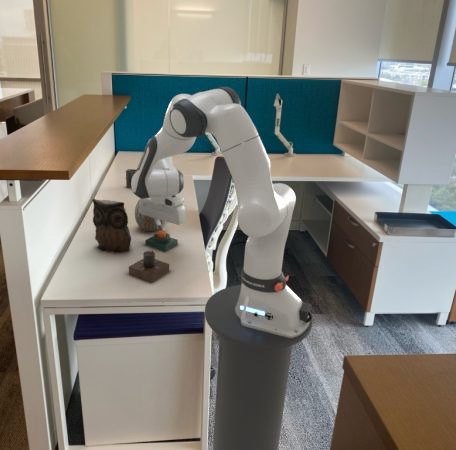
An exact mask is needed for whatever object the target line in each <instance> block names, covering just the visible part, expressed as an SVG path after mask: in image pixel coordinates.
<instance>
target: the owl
mask: <svg viewBox="0 0 456 450" xmlns="http://www.w3.org/2000/svg"><path fill="white" fill-rule="evenodd" d="M92 203H93V209H92V213H93V217H92V223H93V225H94V227H95V235H94V239H95V241H97V243H98V246H97V249H98V250H99V251H101V252H108V253H115V254H116V253H117V254H118V253H120V254H121V253H124V252H130V249H131V248H130V247H131V243H132V236H131V233H130V229H129V226H128V223H129V216H128V213H127V212H126V211H127V210H126V208H125V202H123V201H117V200H110V199H96V198H93V199H92Z"/></svg>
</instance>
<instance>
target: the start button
mask: <svg viewBox="0 0 456 450" xmlns="http://www.w3.org/2000/svg"><path fill="white" fill-rule="evenodd" d="M156 233H157V237H159V238H164V237H166V233H167V232H166V230H164V231H163V230H157V232H156Z"/></svg>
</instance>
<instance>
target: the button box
mask: <svg viewBox="0 0 456 450" xmlns="http://www.w3.org/2000/svg"><path fill="white" fill-rule="evenodd" d="M178 241H179V240H178V239H176V238H173V237H171V235H170V233H168V232H166V237H164V238H159V237H157V232H156V233H154V234H153V235H152V236H151V237H148V238H146V239H145V246H148V247H150V248H154V249H157V250H160V251H162V252H167V251H169V250H170V249H173V248H174V247H176V246H178Z"/></svg>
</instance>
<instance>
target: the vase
mask: <svg viewBox="0 0 456 450" xmlns="http://www.w3.org/2000/svg"><path fill="white" fill-rule="evenodd" d="M139 203H140V198H139V199H138V200H137V202H136V204H135V207H134V219H135V223H136V224H137V226H138V227H139V228H140V229H141V230H143V231H144V232H156V231H159V229H157V224H156V222H155V218H152V217H149V216H146V215H142V214H140V212H139ZM160 222H161V224H163V223H162V220H160Z"/></svg>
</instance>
